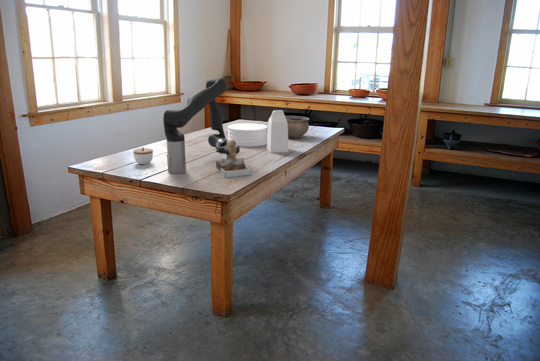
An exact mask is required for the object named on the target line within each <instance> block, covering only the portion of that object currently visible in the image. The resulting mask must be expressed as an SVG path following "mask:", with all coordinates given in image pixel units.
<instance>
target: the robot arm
mask: <svg viewBox="0 0 540 361" xmlns="http://www.w3.org/2000/svg"><path fill="white" fill-rule="evenodd" d="M227 89H228V83H227V81H226V79H224V78H221V77H217V78H216V77H215V78H208V79H207V80H206V84H205V88H204V89H200V90H198V91H196V92H194V93H193V94H192V95H191V96H189V97H188V98H187V102H186V106H185V107H184V108H182V109H176V108H175V109H174V108H173V109H172V108H168V109H166V110H165V111H164V113H163V130H164V136H165V137H166V149H167V154H166V160H167V162H166V163H167V171H168V173H169V174H170V175H171V174H172V175H179V174H180V175H181V174H184V173H187V162H186V160H187V159H186V140H185V134H183V133H182V132H181V131H180V130H178V129H181V128H184V127H185V126H186V125H187V124H188V123H189V122H190V121H191V119H193V118H194V117H195V116H196V115H197V114H198V113H199V112H201V111H202V110H203V109H205V108H206V106H209V113H210V114H209V115H210V116H209V117H210V129H211V130H212V131H215V132H218V133H213V134H210V135H209V136H208V138H207V141H208V144H209V146H210V147H213V148H215V152H216V153H219V154H224V155H226V156H227V155H229V151H228V150H227V141H228V138H226V135H225V131H224V125H223V124H224V123H223V120H224V119H223V114H222V112H221V109H220V108H219V106H218V104H217V101H216V99H217V98H218V97H220V96H221V95H222V96H223V94H225V92H226V91H227ZM240 147H241V146H236V155H238V154H239V153H240V150H241V149H240Z"/></svg>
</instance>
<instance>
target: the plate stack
mask: <svg viewBox="0 0 540 361" xmlns="http://www.w3.org/2000/svg"><path fill="white" fill-rule="evenodd" d="M227 129H228V130H227V140H228V141H232V140H234V141H235V142H236V147H237V146H240V147H242V148H243V147H249V148H250V147H261V146H265V145H267V135H268V124H267V125H266V124H262V123H252V122H243V123H240V122H239V123H233V124H229V125H227Z"/></svg>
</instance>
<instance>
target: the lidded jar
mask: <svg viewBox="0 0 540 361" xmlns="http://www.w3.org/2000/svg"><path fill="white" fill-rule="evenodd" d="M132 152H133V158H134V160H135V162H136V163H137V164H138V165H139V164H147V165H149V164H150V163H151V162H152V161H153V156H154V153H153V152H154V150H153V149H152V148H146V147H143V146H141V148H137V149H134V150H132ZM148 163H149V164H148Z"/></svg>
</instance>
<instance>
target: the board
mask: <svg viewBox="0 0 540 361" xmlns="http://www.w3.org/2000/svg"><path fill="white" fill-rule="evenodd" d="M245 166H246V164H245V163H244V164H237V165H226V166H222V163H221V160H215V168H216V170H218V171H219V172H220V173H221V168H222V169H223V170H224V171H226V170H237V169H239V170H240V169H245Z"/></svg>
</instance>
